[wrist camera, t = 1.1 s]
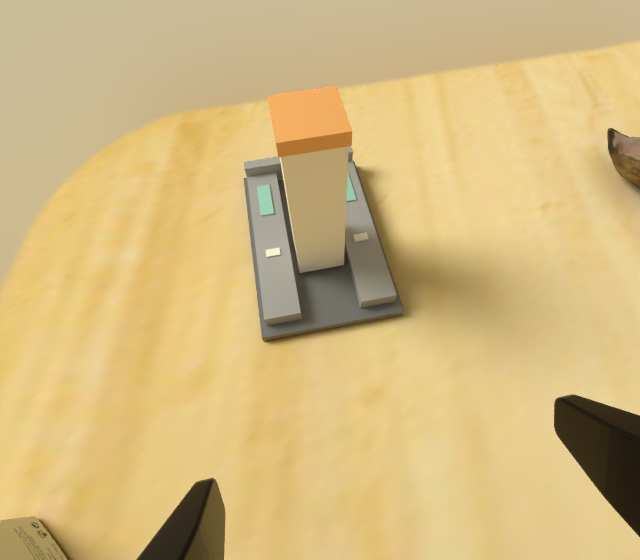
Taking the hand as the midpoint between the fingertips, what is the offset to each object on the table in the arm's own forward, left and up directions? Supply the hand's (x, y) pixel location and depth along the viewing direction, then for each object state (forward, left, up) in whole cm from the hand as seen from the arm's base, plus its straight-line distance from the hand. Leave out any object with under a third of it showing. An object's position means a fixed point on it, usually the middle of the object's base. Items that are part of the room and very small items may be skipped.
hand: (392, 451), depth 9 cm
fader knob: (+9, -11, -14) cm, 20 cm away
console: (+10, -13, -14) cm, 21 cm away
